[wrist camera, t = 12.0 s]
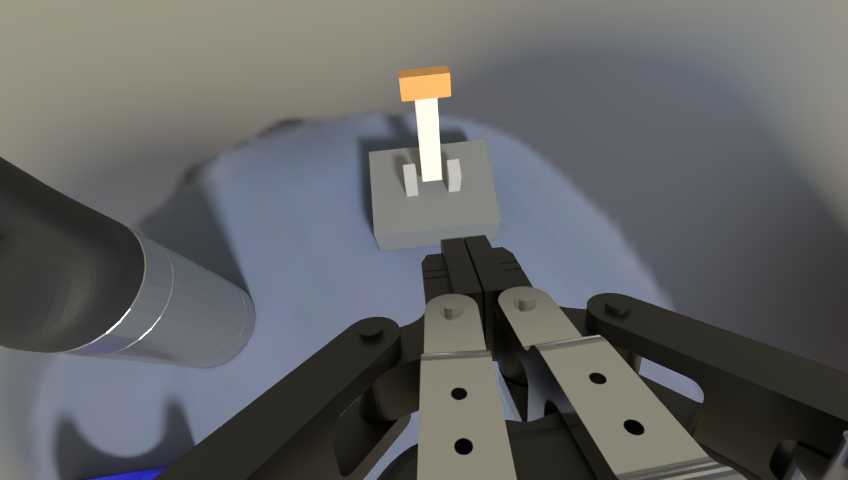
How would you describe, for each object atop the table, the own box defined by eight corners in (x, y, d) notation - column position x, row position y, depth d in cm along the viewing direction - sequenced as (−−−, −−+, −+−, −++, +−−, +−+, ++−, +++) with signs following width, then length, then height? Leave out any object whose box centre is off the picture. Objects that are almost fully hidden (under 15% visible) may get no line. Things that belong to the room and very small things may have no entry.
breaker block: (380, 251, 45) (369, 223, 37) (375, 175, 48) (364, 135, 41) (494, 239, 45) (506, 209, 37) (480, 163, 49) (488, 122, 41)
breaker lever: (411, 185, 40) (398, 78, 34) (410, 173, 42) (398, 70, 36) (454, 180, 40) (449, 72, 34) (451, 169, 42) (446, 65, 36)
